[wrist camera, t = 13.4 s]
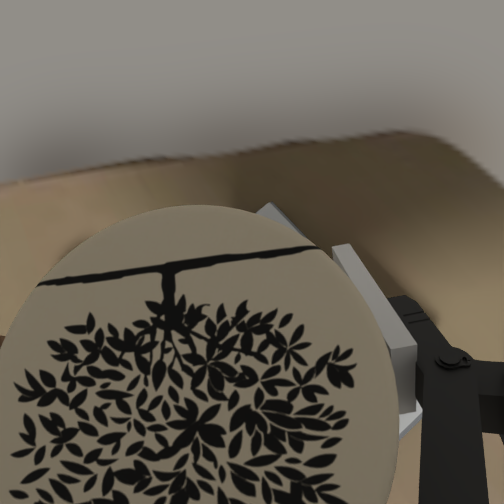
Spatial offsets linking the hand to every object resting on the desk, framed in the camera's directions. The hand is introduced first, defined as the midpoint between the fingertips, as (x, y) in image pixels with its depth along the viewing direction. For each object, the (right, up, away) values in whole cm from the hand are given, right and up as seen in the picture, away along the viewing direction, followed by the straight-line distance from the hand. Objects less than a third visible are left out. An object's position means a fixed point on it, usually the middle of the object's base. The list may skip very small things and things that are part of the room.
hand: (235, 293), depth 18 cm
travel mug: (+1, -6, +7) cm, 9 cm away
